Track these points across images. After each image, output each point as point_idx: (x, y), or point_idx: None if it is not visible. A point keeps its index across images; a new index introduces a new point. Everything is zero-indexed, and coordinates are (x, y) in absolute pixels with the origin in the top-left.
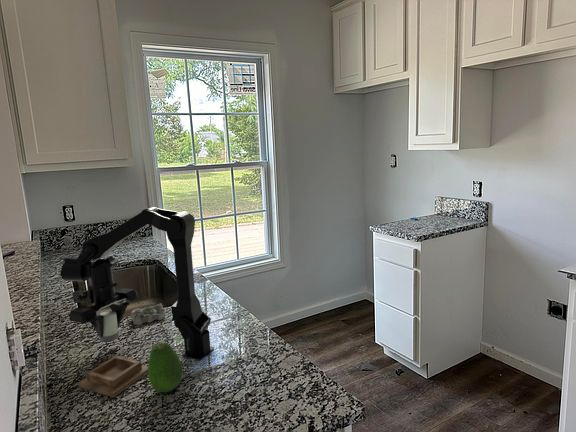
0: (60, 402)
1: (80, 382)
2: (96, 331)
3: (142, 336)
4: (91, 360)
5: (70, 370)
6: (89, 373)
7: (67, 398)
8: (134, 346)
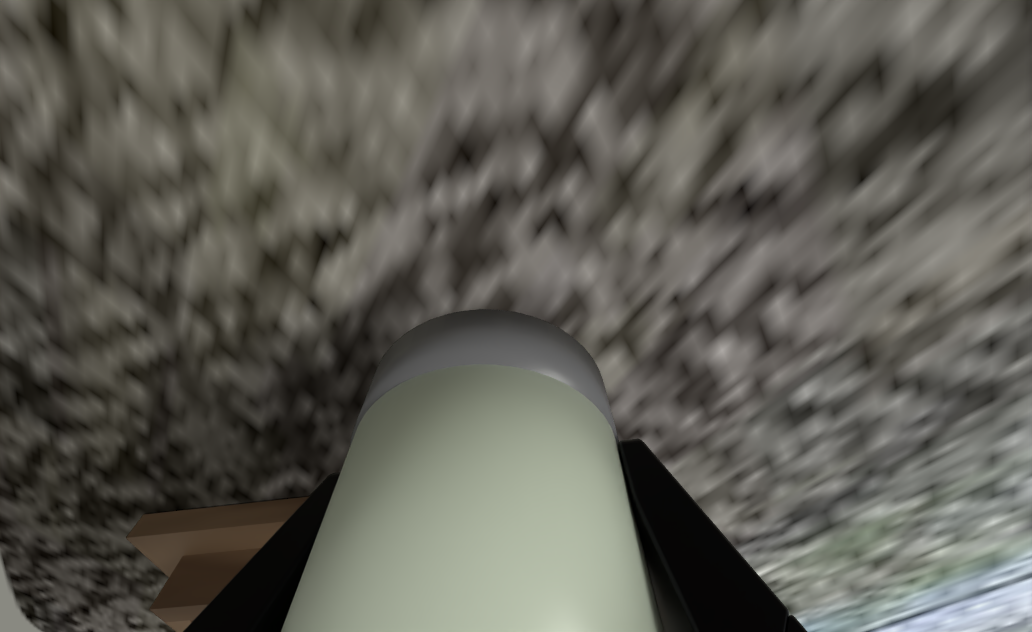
0: (43, 549)
1: (140, 545)
2: (259, 564)
3: (830, 335)
4: (290, 328)
5: (98, 327)
6: (167, 619)
7: (79, 548)
8: (642, 416)
